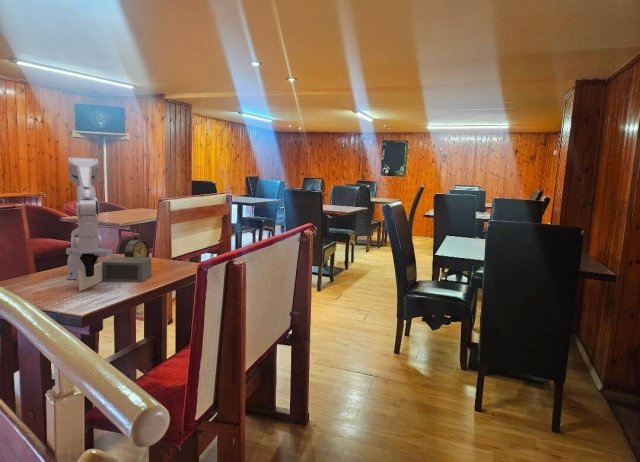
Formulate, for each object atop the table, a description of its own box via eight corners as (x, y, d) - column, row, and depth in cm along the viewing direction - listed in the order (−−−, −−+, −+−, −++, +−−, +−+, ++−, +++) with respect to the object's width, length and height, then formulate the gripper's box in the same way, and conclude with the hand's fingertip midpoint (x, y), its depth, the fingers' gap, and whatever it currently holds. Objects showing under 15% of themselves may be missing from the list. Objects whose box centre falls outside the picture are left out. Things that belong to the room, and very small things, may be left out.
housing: (102, 281, 152) (101, 262, 151) (113, 274, 162) (113, 256, 161) (142, 282, 153) (141, 263, 152) (151, 275, 163) (151, 257, 162)
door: (98, 280, 152) (97, 262, 151) (103, 280, 152) (102, 262, 151) (76, 290, 139) (75, 270, 138) (81, 290, 139) (81, 271, 138)
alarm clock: (134, 272, 168) (133, 231, 165) (121, 270, 169) (121, 230, 166) (150, 266, 178) (149, 228, 176) (138, 265, 179) (138, 227, 177)
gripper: (59, 236, 137) (61, 277, 138) (103, 238, 136) (104, 280, 138) (73, 233, 144) (74, 273, 145) (114, 235, 143) (115, 275, 145)
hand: (89, 276), depth 142 cm, fingers closed, pressing on door
